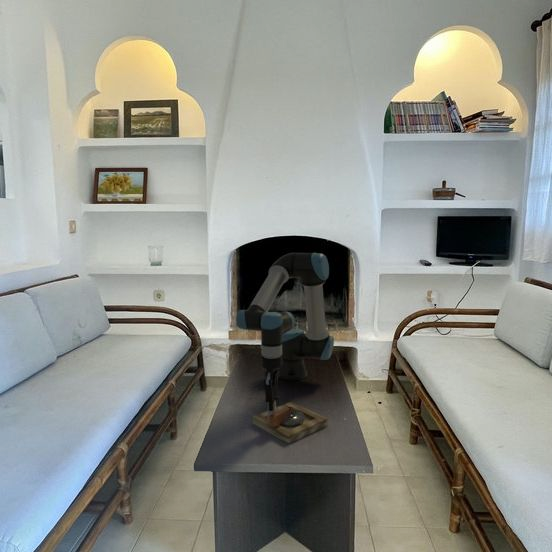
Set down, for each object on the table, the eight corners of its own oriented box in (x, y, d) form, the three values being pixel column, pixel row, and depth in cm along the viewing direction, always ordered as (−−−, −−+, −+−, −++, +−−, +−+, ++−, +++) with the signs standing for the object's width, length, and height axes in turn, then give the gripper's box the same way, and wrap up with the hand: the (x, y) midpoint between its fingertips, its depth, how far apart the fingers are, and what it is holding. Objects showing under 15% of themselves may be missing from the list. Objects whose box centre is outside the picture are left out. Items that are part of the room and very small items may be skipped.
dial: (286, 410, 164) (286, 398, 164) (310, 418, 158) (310, 405, 157) (259, 426, 152) (259, 412, 151) (284, 435, 145) (284, 421, 144)
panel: (291, 408, 171) (291, 401, 171) (327, 425, 156) (327, 418, 156) (252, 423, 158) (252, 415, 158) (288, 443, 143) (288, 435, 143)
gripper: (266, 349, 157) (266, 409, 159) (256, 360, 144) (256, 424, 147) (285, 351, 155) (285, 411, 158) (277, 362, 142) (277, 427, 145)
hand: (271, 417), depth 152 cm, fingers closed
